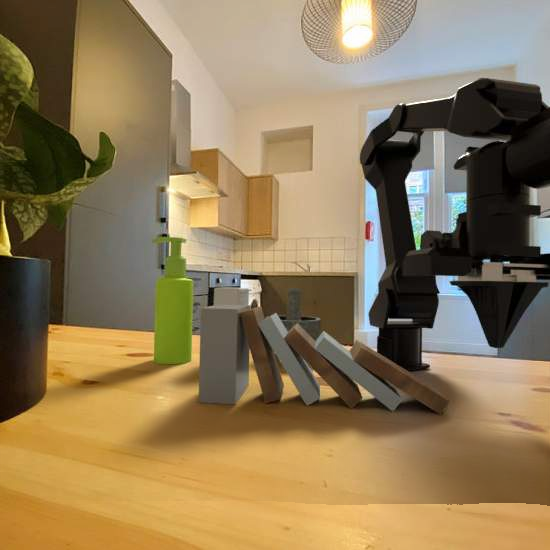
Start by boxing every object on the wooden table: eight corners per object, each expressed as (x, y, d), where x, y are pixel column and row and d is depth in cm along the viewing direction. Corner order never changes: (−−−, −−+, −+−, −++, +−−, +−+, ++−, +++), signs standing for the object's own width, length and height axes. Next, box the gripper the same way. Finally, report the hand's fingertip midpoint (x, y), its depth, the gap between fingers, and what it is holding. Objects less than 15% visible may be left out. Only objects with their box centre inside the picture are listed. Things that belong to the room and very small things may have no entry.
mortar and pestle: (320, 365, 55) (321, 289, 55) (261, 363, 55) (263, 288, 56) (318, 351, 66) (319, 288, 66) (269, 350, 67) (270, 287, 67)
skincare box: (237, 366, 53) (239, 288, 54) (211, 364, 54) (212, 287, 54) (248, 357, 59) (249, 287, 60) (224, 356, 60) (226, 287, 60)
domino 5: (433, 386, 40) (356, 339, 41) (449, 401, 35) (361, 347, 36) (425, 398, 40) (349, 351, 41) (441, 414, 35) (353, 360, 36)
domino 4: (392, 385, 40) (323, 330, 41) (402, 399, 35) (324, 337, 36) (383, 395, 40) (315, 341, 41) (392, 411, 35) (314, 349, 36)
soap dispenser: (158, 355, 60) (161, 239, 60) (196, 357, 59) (199, 239, 59) (140, 363, 54) (144, 235, 54) (182, 365, 53) (186, 235, 53)
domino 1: (284, 385, 42) (261, 306, 42) (279, 399, 37) (253, 308, 37) (271, 389, 42) (248, 309, 43) (265, 403, 37) (239, 313, 38)
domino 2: (319, 384, 41) (276, 312, 42) (319, 398, 36) (270, 316, 37) (308, 391, 41) (265, 319, 42) (306, 405, 36) (257, 324, 37)
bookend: (248, 385, 43) (250, 305, 44) (235, 404, 36) (237, 309, 37) (217, 383, 44) (219, 304, 44) (198, 402, 37) (200, 308, 37)
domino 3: (357, 384, 41) (297, 322, 42) (362, 398, 36) (294, 328, 37) (347, 393, 41) (287, 332, 42) (351, 408, 36) (283, 338, 37)
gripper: (509, 218, 47) (509, 335, 46) (379, 211, 43) (378, 336, 43) (600, 199, 36) (600, 352, 35) (435, 186, 32) (433, 354, 32)
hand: (495, 347), depth 37 cm, fingers closed
